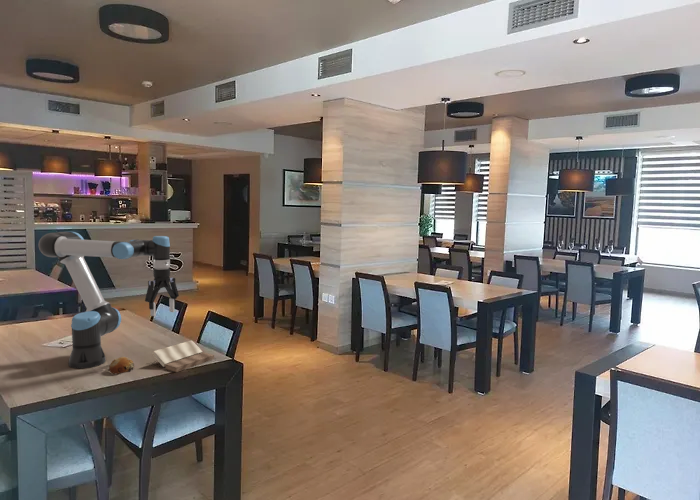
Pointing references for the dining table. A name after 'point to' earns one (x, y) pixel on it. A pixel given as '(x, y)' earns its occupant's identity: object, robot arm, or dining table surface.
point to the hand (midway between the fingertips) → (162, 313)
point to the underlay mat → (170, 370)
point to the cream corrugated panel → (176, 352)
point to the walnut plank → (189, 362)
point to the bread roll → (121, 365)
